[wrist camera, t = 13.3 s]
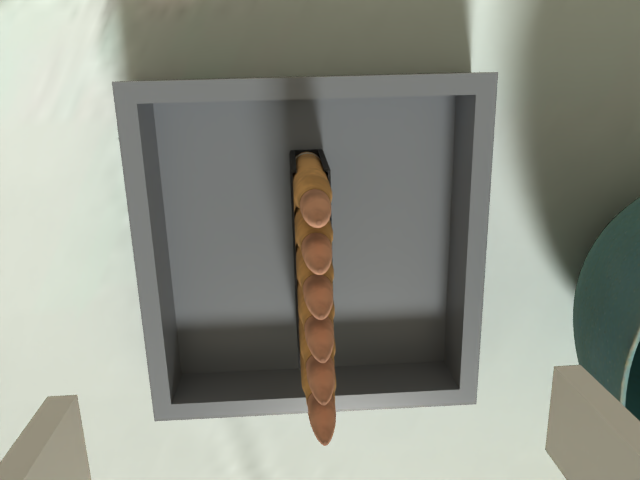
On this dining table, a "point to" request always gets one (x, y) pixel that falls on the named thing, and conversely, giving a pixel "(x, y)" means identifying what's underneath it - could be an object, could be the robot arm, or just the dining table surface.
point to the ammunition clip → (314, 285)
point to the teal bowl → (612, 309)
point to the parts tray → (277, 237)
